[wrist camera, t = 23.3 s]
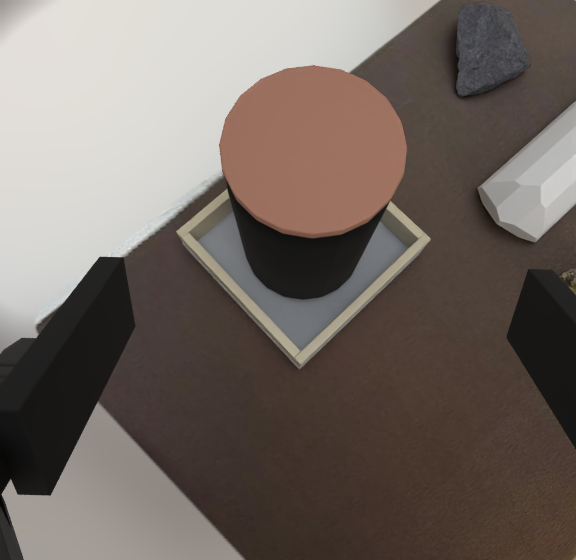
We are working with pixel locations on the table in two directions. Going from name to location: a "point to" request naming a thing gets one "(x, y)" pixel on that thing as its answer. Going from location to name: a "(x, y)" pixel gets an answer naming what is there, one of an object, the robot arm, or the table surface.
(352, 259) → the coffee jar
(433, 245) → the table surface
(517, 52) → the rock
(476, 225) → the table surface
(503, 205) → the crystal
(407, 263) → the shallow square crate
